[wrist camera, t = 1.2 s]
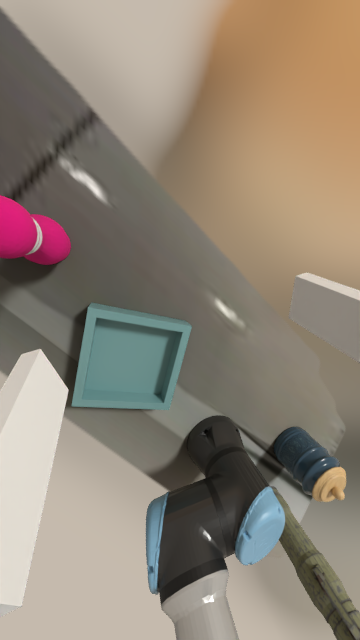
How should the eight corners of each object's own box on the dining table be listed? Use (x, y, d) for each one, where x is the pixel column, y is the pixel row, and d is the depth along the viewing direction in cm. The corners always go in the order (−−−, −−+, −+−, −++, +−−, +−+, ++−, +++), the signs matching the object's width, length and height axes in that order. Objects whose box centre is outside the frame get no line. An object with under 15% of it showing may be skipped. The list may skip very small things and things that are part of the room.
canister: (302, 419, 66) (362, 469, 50) (306, 446, 71) (362, 500, 54) (269, 437, 64) (320, 496, 48) (275, 464, 69) (324, 526, 52)
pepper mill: (24, 257, 35) (-87, 249, 16) (30, 214, 33) (-83, 151, 15) (70, 269, 37) (20, 274, 19) (77, 229, 36) (30, 190, 17)
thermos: (262, 511, 73) (374, 708, 41) (250, 495, 69) (366, 700, 37) (281, 496, 74) (406, 676, 42) (271, 480, 70) (402, 665, 37)
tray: (165, 397, 50) (169, 409, 45) (76, 392, 43) (71, 406, 39) (185, 320, 46) (191, 326, 42) (91, 302, 40) (88, 307, 35)
